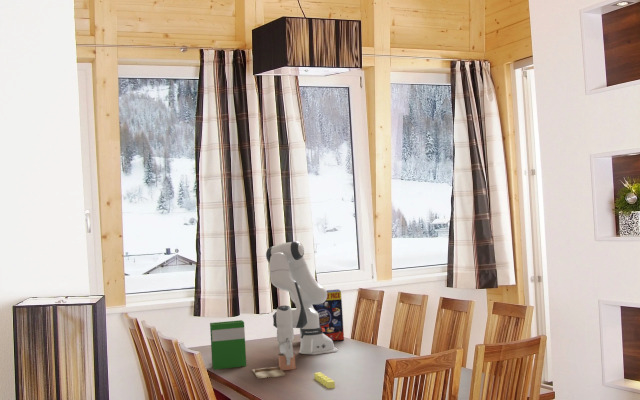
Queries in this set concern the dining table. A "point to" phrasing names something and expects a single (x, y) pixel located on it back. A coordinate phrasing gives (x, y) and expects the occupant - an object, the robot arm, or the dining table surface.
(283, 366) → the block
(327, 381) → the yellow segmented bar
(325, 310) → the cereal box
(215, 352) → the hardback book
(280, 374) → the board
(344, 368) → the dining table surface
